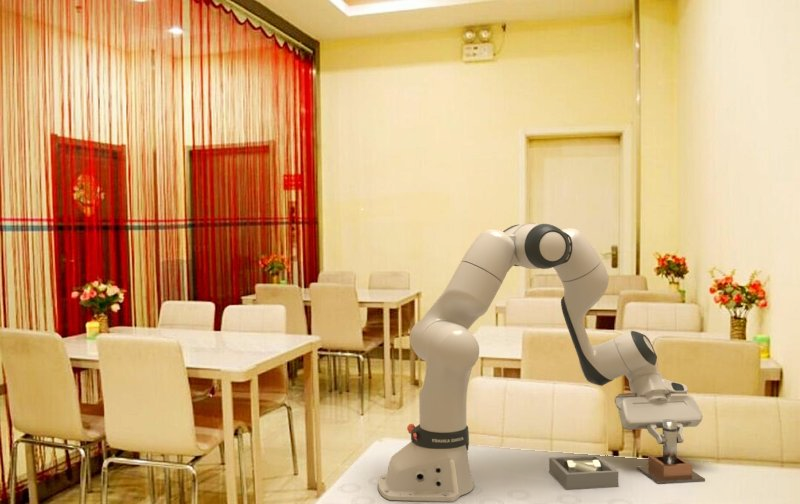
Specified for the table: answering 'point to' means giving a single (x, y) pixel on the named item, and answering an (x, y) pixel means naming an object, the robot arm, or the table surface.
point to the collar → (669, 471)
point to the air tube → (670, 441)
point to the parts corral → (583, 473)
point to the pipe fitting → (582, 466)
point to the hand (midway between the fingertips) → (671, 442)
